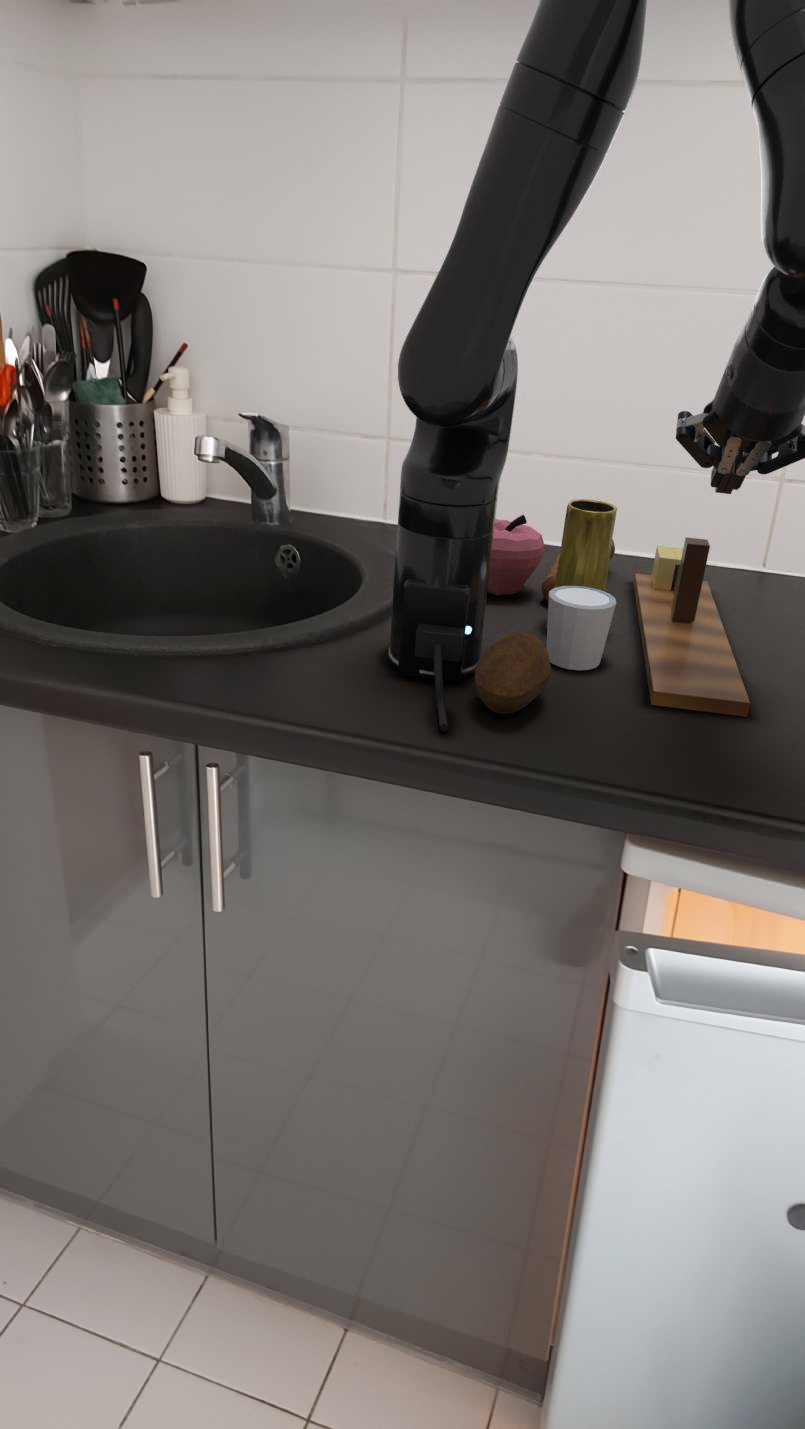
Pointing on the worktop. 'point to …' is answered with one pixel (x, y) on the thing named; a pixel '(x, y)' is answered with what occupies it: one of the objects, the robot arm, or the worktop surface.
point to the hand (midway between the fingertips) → (722, 485)
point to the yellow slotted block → (665, 566)
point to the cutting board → (687, 654)
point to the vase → (586, 544)
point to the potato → (512, 672)
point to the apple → (513, 555)
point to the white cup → (578, 626)
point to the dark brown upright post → (689, 579)
